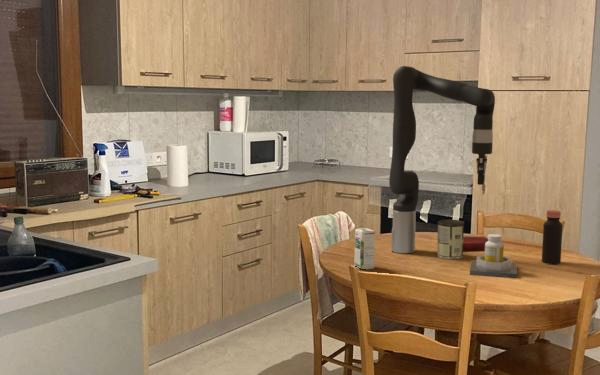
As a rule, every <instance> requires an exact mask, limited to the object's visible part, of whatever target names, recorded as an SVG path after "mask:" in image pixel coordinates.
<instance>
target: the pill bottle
mask: <svg viewBox="0 0 600 375" xmlns="http://www.w3.org/2000/svg"><path fill="white" fill-rule="evenodd" d="M487 238H488V239H489V240H488V241H487V242H486V243H485V251H484V255H485V261H491V262H503V256H504V248H505V247H504V243H503V242H502V235H501V234H497V233H496V234H495V233H492V234H491V233H489V234H487Z"/></svg>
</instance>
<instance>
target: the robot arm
mask: <svg viewBox="0 0 600 375" xmlns="http://www.w3.org/2000/svg"><path fill="white" fill-rule="evenodd" d="M392 83H393V85H392V86H393V97H394V99H393V101H394V103H393V105H394V106H393V118H392V119H393V122H392V151H391V153H392V154H391V163H390V172H389V178H388V179H389V180H388V182H389V183H388V184H389V189H390V192H392V193H393V195H401V197H400V198H399V199H397V201H395V202H393V205H392V229H391V247H390V248H391V251H393V253H396V254H397V253H399V254H411V253H415V251H416V250H415V249H416V220H417V219H416V218H417V217H416V214H417V212H416V210H417V206H418V202H419V189H420V184H419V183H420V182H419V176H418V174H417V173H416V172H415V171H413V170H405V163H406V160H407V157H408V155H409V153H410V151H411V150H412V148H413V146H414V144H415V141H416V137H417V121H416V115H415V114H416V113H415V110H414V107H413V106H414V105H413V95H414V94H413V93H414V90H418V91H425V92H429V93H432V94H436V95H438V96H440V97H443V98H446V99H450V100H453V101H457V102H463V103H466V104H469V105H471V106H473V107H476V108H475V115H474V116H473V127H472V128H473V131H472V135H471V136H472V137H471V138H472V139H471V141H472V142H471V153H472V154H474V155H478V157H477V158H476V159H475V162H476V174H477V185H479V186H481V185H482V186H483V185H484V182H485V172H486V169H487V163H488V158H487V156H486V155H491V154H493V142H494V140H493V139H494V138H493V137H494V134H493V133H494V132H493V127H494V126H493V123H494V122H493V118H494V117H493V116H494V110H495V104H496V98H495V97H496V96H495V93H494V92H493V91H492V90H491V89H489V88H483V87H482V88H481V87H477V86H473V85H469V84H467V83H464V82H460V81H456V80H453V79H447V78H443V77H442V78H441V77H437V76H434V75H431V74H428V73H425V72H423V71H420V70H418V69H416V68H415V67H413V66H408V65H407V66H406V65H403V66H400V67H397V69H396V70H395V71H394V72H393V77H392ZM391 251H390V252H391Z"/></svg>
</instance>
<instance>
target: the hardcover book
mask: <svg viewBox="0 0 600 375" xmlns="http://www.w3.org/2000/svg"><path fill="white" fill-rule="evenodd" d="M436 239H438V236H437V237H436ZM488 240H489V239H488V237H487V236H485V235H484V236H483V235H482V236H463V252H482V251H483V252H485V243H486V242H487V241H488Z"/></svg>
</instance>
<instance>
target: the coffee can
mask: <svg viewBox="0 0 600 375" xmlns="http://www.w3.org/2000/svg"><path fill="white" fill-rule="evenodd" d="M464 225H465V221H463V220H460V219H459V220H458V219H448V218H447V219H440V220H437V237H438V238H437V246H436V247H437V248H436V249H437V251H436V252H437V253H436V254H437V255H436V256H437V257H438V258H441V259H444V260H445V259H446V260H458V259H463V258H464V251H463V237H464V232H465V230H464V229H465V228H464Z"/></svg>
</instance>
